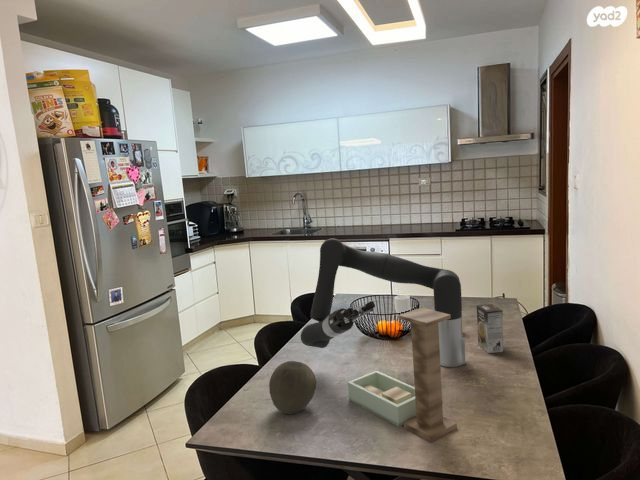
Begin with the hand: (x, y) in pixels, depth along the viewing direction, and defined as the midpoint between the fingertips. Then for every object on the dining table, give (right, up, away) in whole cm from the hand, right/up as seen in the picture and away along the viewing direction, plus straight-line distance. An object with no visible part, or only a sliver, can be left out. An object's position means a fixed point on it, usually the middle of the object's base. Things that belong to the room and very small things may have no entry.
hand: (363, 307), depth 147 cm
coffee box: (+52, -21, +35) cm, 66 cm away
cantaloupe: (-21, -32, 0) cm, 38 cm away
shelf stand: (+17, -31, -16) cm, 39 cm away
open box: (+7, -30, -2) cm, 31 cm away
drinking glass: (+24, -19, +63) cm, 70 cm away
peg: (+6, -29, -2) cm, 29 cm away
